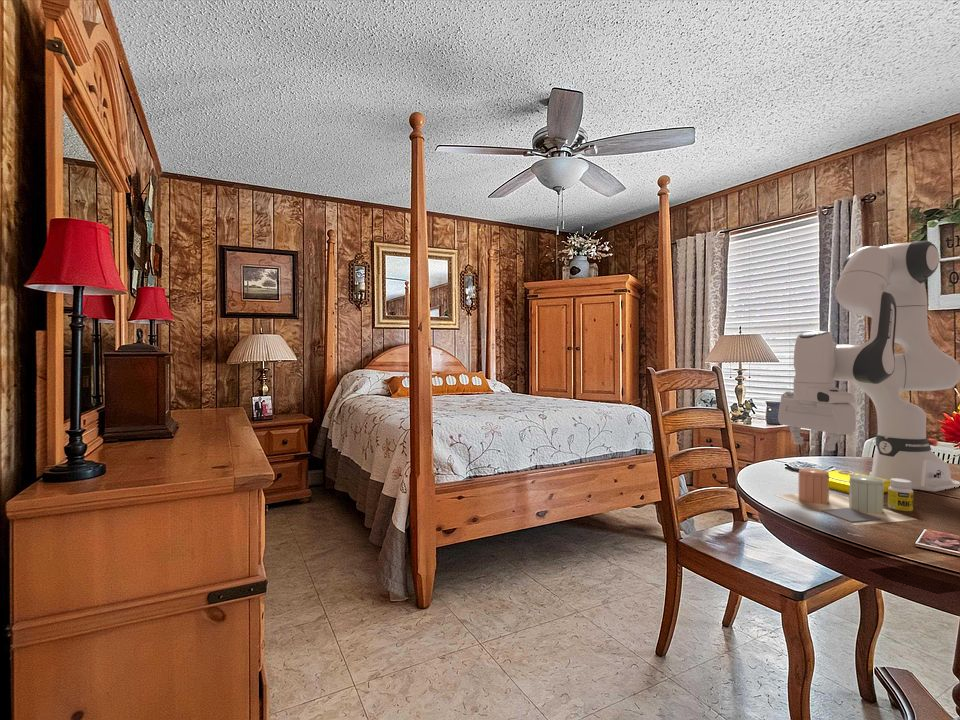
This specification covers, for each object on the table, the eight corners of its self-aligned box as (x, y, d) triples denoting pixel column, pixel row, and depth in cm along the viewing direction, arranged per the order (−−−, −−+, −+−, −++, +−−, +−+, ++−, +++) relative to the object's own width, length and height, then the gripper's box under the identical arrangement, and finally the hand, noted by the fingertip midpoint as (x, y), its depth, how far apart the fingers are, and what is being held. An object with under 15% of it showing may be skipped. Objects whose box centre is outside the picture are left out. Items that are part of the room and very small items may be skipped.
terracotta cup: (813, 495, 132) (813, 467, 131) (835, 502, 125) (835, 473, 125) (793, 497, 130) (793, 469, 130) (813, 504, 124) (813, 475, 124)
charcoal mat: (848, 509, 120) (848, 507, 120) (880, 520, 112) (880, 518, 112) (820, 511, 119) (820, 510, 119) (851, 522, 111) (851, 521, 111)
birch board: (828, 496, 135) (828, 491, 135) (917, 526, 113) (917, 519, 113) (775, 500, 132) (775, 495, 132) (856, 531, 109) (856, 525, 109)
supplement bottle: (897, 517, 119) (898, 482, 118) (882, 510, 123) (883, 477, 123) (918, 517, 118) (918, 482, 118) (902, 510, 123) (902, 477, 123)
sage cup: (864, 504, 124) (864, 474, 124) (889, 512, 118) (890, 481, 117) (843, 506, 123) (843, 476, 122) (867, 514, 116) (868, 482, 116)
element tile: (806, 488, 144) (806, 472, 144) (840, 483, 150) (840, 467, 150) (861, 503, 130) (861, 485, 130) (896, 497, 136) (897, 479, 136)
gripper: (772, 391, 137) (771, 440, 137) (838, 396, 117) (838, 454, 117) (791, 390, 138) (791, 440, 138) (860, 396, 118) (860, 453, 118)
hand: (813, 447), depth 127 cm, fingers open, 8 cm apart
